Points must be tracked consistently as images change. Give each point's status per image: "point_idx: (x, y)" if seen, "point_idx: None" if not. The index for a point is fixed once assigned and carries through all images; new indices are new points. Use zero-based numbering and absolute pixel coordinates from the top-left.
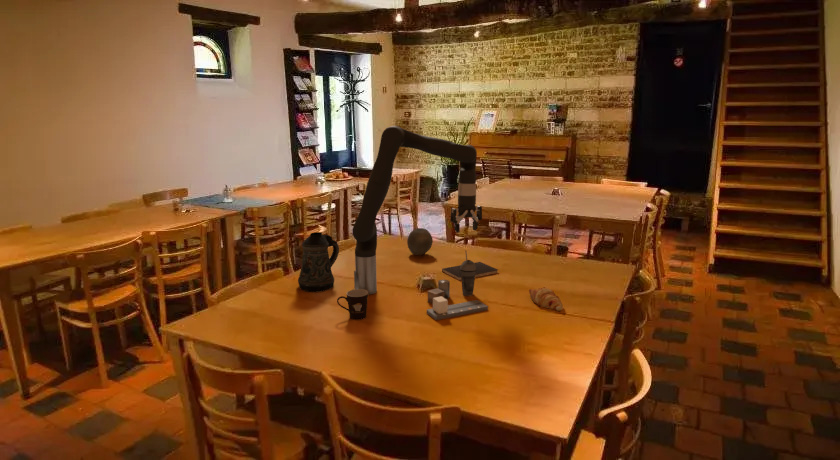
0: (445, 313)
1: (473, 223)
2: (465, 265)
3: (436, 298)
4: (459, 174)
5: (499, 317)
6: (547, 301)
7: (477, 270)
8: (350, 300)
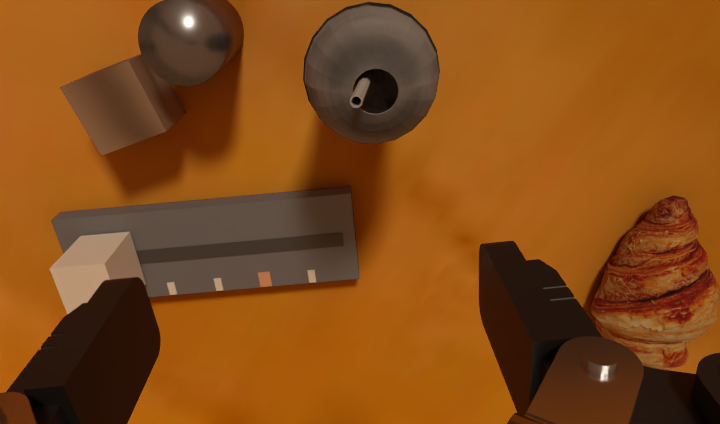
0: None
1: (515, 336)
2: (329, 120)
3: (68, 281)
4: None
5: (364, 346)
6: None
7: None
8: None
